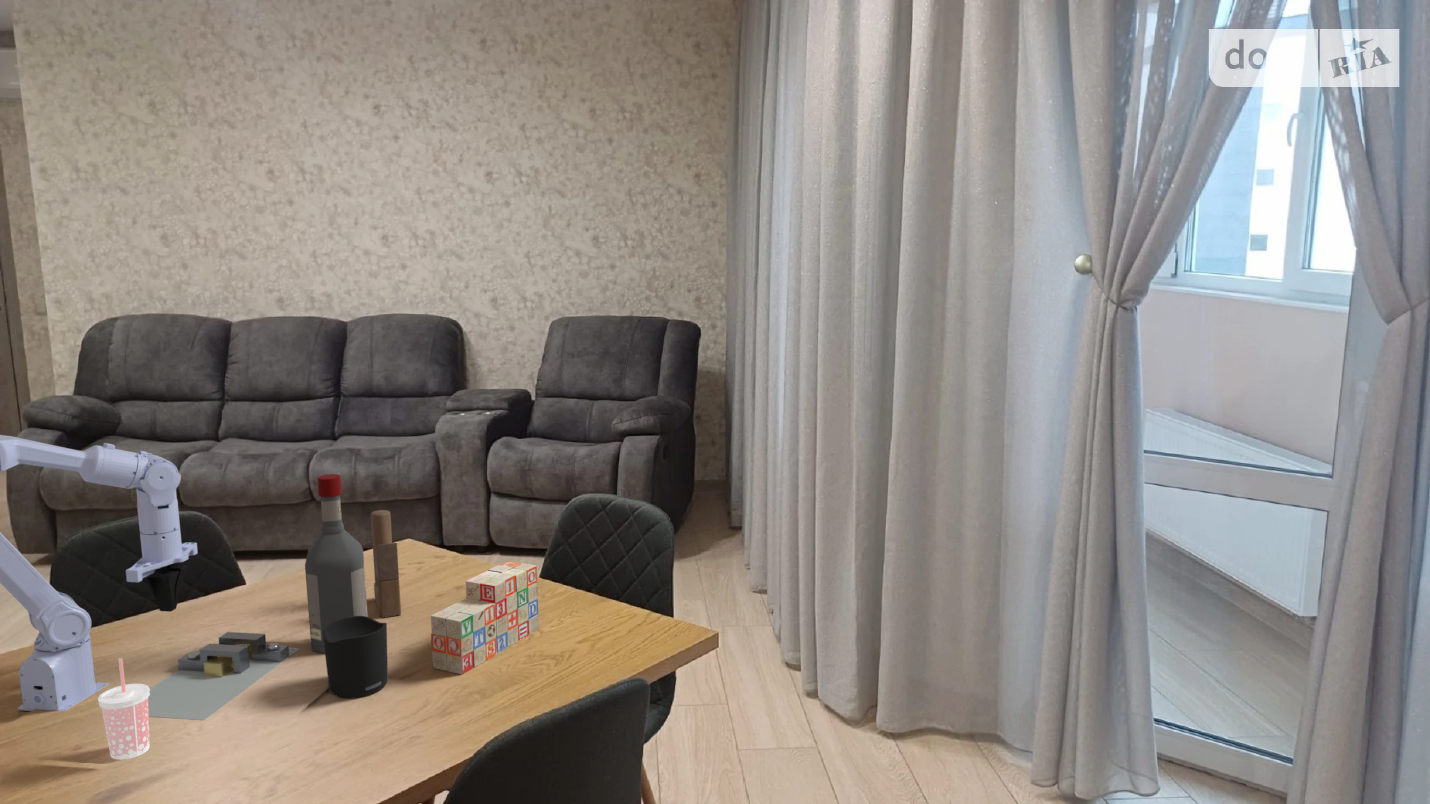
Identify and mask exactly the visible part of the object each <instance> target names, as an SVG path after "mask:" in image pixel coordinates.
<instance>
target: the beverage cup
mask: <svg viewBox="0 0 1430 804" xmlns="http://www.w3.org/2000/svg"><path fill="white" fill-rule="evenodd" d="M118 668H119V678H120V679H119V680H120V685H118V686H114V687H112V688H109V689H108V690H106V691H103V692H102V693H101V694H99V696H98V697H97V701H98V705H99V708H101V713H102V716H103V717H102V718H103V722H104V727H105V733H106V739H107V744H108V749H109V755H110V757H111V758H112V759H114V760H121V761H122V760H130V759H133V758H137V757H139V756H141V755H144V754H145V753H146V752H147V751H148V750H149V749H150V747H151V746H150V745H151V744H150V717H149V708H148V697H149V695H150V693H149V691H150V688H151V687H149V685H146V684H144V683H130V684H129V683H128V684H126V680H125V670H124V661H123V657H119V658H118Z"/></svg>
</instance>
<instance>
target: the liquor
mask: <svg viewBox="0 0 1430 804" xmlns="http://www.w3.org/2000/svg"><path fill="white" fill-rule="evenodd" d="M341 479H342V477H341V475H340V474H333V473H332V474H323V475H319V476H318V477H317V492H318V496H319V497H320V504H321V519H322V521H321V522H322V523H321V524H322V526H321V530H320V534H319V535H318V536H317V538H316V539H315V540H314V541H313V542H312V544H311V545H310V546H309V548H308V551H307V555H306V559H305V564H304V567H305V568H304V569H305V581H306V586H305V587H306V597H307V598H306V599H307V608H308V610H307V611H308V621H309V622H308V623H309V624H308V625H309V637H310V649H311V651H312V652H316V653H319V654H324V655H325V648H324V640H323V629H324V627H325V626H326V625H328V624H329V623H331V622H333V621H336V620H339V619H342V618H346V617H352V616H366V617H369V616H368V603H367V602H368V601H367V585H366V573H365V558H364V548H363V546H362V544H361V542H359V541H358V539H356V538H354V536H353V535H351V534H350V533H349V532H348V531H347V530H345V525H344V522H343V518H342V508H341V505H342V504H341V495H342V494H343V488H342V480H341Z"/></svg>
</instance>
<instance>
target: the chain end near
mask: <svg viewBox="0 0 1430 804" xmlns="http://www.w3.org/2000/svg"><path fill="white" fill-rule="evenodd" d="M214 656H223V657H232V661H233V673H235V674H241V673H242V672H244V671H245V670H246V669H248V668H249V667H250V666H249V655H248V646H241V645H223V644H219V643H208V644H206V645H205V646H204V647H202V648H200V649H199V651H196V650H195V651H191V652H188V653H187V654H185V655H183V656H181V657H180V658H178V659H177V664H178V665H177V666H178V670H184V671H201V672H205V670H204V663H205V662H207V661H208V660H210V659H211V658H213V657H214Z"/></svg>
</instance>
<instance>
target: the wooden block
mask: <svg viewBox="0 0 1430 804" xmlns="http://www.w3.org/2000/svg"><path fill="white" fill-rule="evenodd" d="M391 517H392V516H391V511H389V510H387V509H379V510H375V511H372V512H371V513H370V523H371V525H370V526H371V537H372V539H371V541H372V555H373V556H372V557H373V571H374V572H373V573H374V583H373V589H374V591H373V592H374V600H375V603H376V606H377V608H378V611H379V614H380V617H381V618H382V617H385V618H391V617H390V616H392V617H397V616H396V615H398V616H401V615H402V606H401V603H402V602H401V589H400V588H401V587H400V579H399V578H400V575H399V574H400V572H399V557H398V555H399V554H398V553H399V552H398V542H393V537H392V536H393V535H392V519H391Z"/></svg>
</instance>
